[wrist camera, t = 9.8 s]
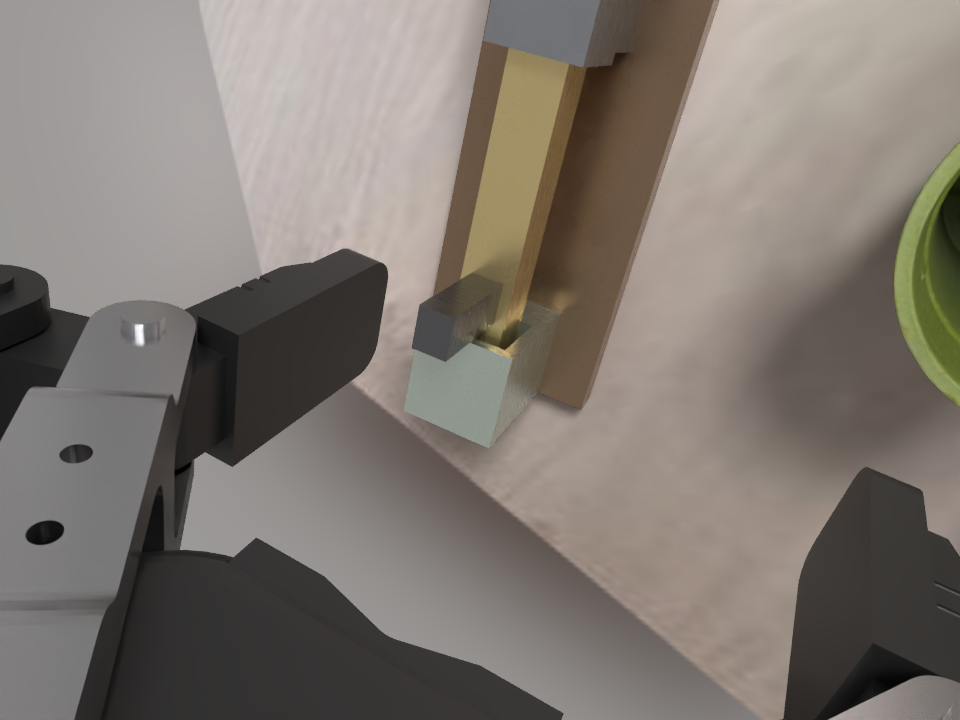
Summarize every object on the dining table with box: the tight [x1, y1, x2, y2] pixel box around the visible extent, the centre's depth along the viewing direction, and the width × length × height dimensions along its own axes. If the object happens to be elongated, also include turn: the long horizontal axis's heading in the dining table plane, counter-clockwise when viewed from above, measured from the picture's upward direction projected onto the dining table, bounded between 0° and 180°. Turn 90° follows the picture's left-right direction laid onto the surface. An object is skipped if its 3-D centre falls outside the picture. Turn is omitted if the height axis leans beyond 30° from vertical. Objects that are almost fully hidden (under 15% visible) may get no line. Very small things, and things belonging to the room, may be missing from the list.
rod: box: [412, 48, 587, 362], centre depth 31 cm, size 19×3×8 cm, turn 167°
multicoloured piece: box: [404, 0, 719, 449], centre depth 32 cm, size 30×10×8 cm, turn 167°
